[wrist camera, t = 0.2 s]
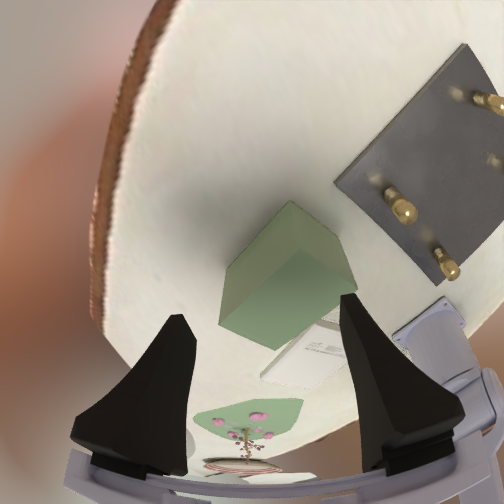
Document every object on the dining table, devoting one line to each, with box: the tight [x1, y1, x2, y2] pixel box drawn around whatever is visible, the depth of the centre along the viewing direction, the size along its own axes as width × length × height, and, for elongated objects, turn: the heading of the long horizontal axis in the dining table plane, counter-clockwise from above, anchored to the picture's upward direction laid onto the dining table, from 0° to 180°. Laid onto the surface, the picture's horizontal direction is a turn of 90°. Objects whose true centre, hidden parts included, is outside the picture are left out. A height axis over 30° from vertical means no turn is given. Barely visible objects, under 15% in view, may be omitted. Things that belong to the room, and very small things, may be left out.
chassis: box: [334, 44, 504, 287], centre depth 16 cm, size 16×16×4 cm
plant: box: [193, 398, 304, 465], centre depth 41 cm, size 25×21×9 cm
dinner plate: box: [203, 460, 283, 474], centre depth 74 cm, size 28×27×3 cm
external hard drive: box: [260, 319, 348, 389], centre depth 31 cm, size 2×8×12 cm
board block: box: [218, 200, 358, 351], centre depth 20 cm, size 5×8×6 cm, turn 143°
